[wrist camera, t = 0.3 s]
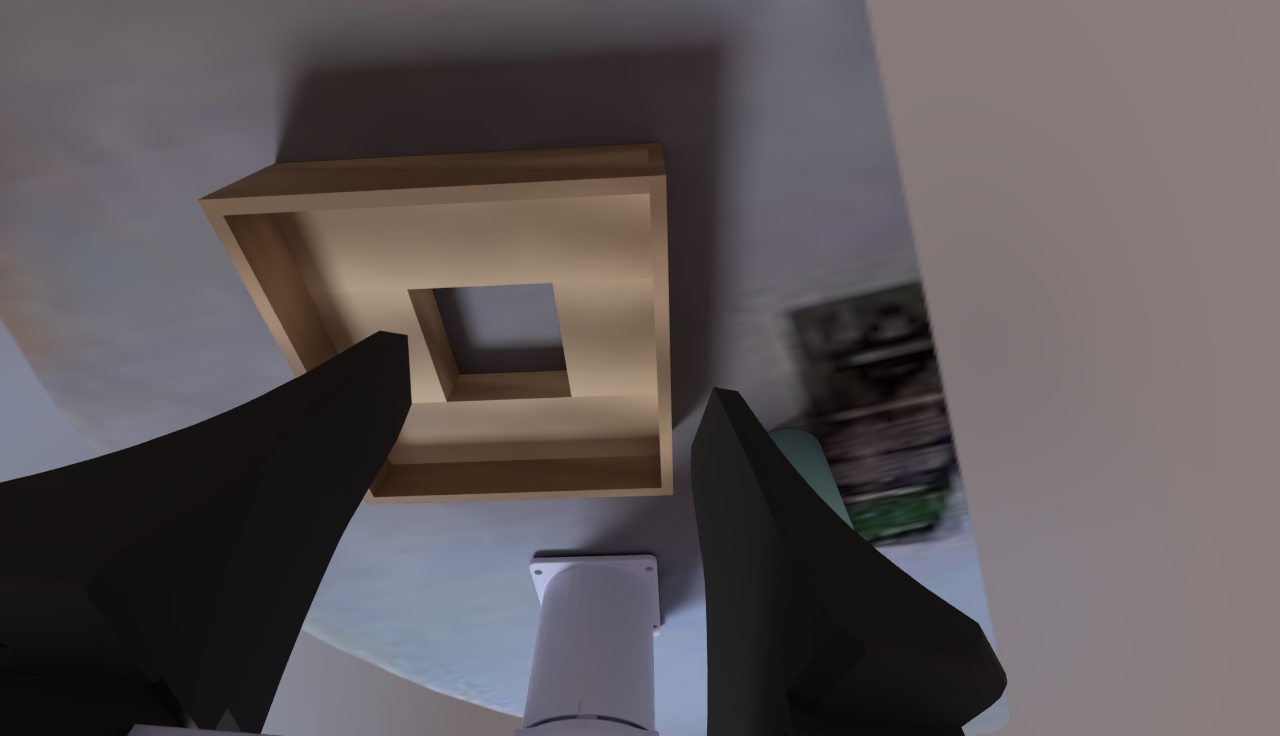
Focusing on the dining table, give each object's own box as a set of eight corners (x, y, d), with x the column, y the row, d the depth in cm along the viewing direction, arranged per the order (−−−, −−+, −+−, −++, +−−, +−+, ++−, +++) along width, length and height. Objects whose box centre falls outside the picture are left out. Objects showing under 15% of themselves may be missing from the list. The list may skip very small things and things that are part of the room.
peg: (815, 480, 29) (866, 624, 22) (743, 483, 29) (772, 626, 22) (827, 427, 26) (887, 570, 20) (748, 430, 26) (782, 572, 20)
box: (669, 433, 27) (673, 494, 23) (399, 443, 27) (367, 504, 24) (661, 142, 18) (666, 175, 15) (274, 163, 19) (197, 199, 16)
